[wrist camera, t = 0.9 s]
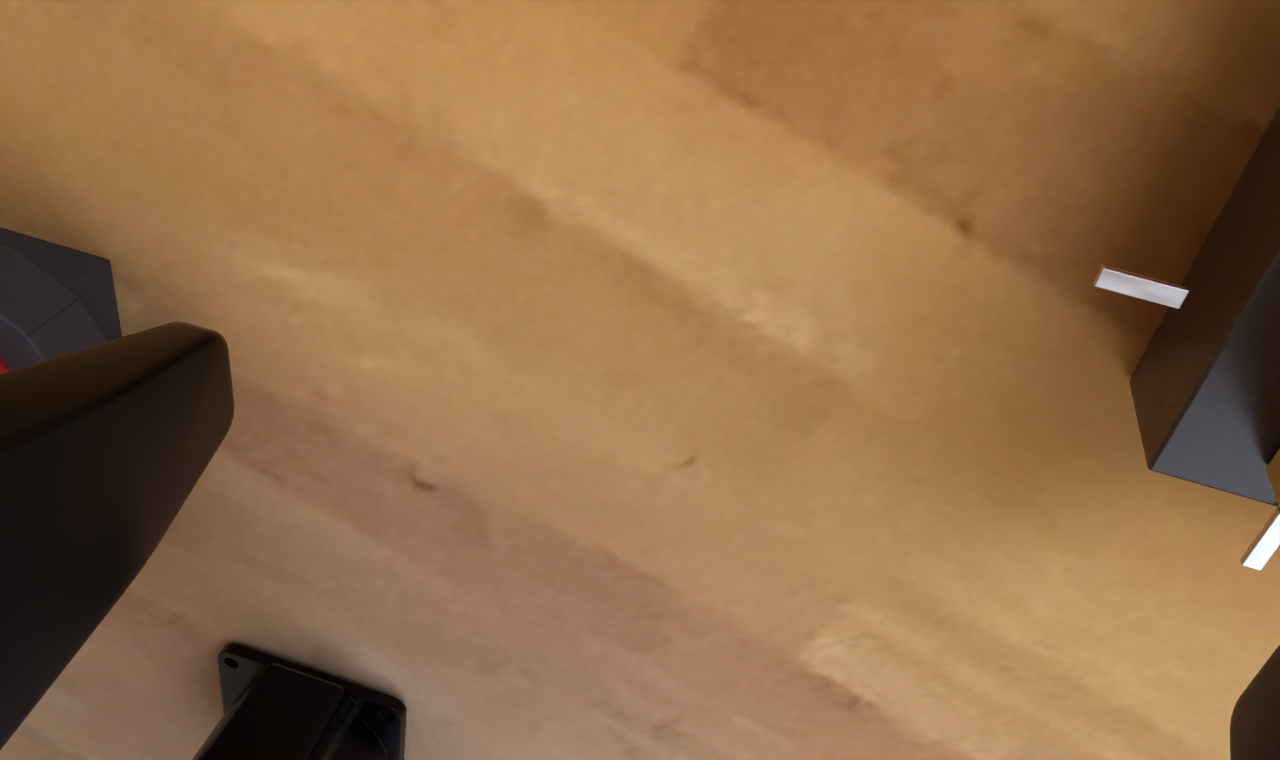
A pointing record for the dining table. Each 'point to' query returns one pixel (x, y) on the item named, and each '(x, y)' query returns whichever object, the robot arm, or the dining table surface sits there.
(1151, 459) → the plate
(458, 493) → the dining table surface
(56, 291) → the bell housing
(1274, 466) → the lock turn
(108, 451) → the robot arm
